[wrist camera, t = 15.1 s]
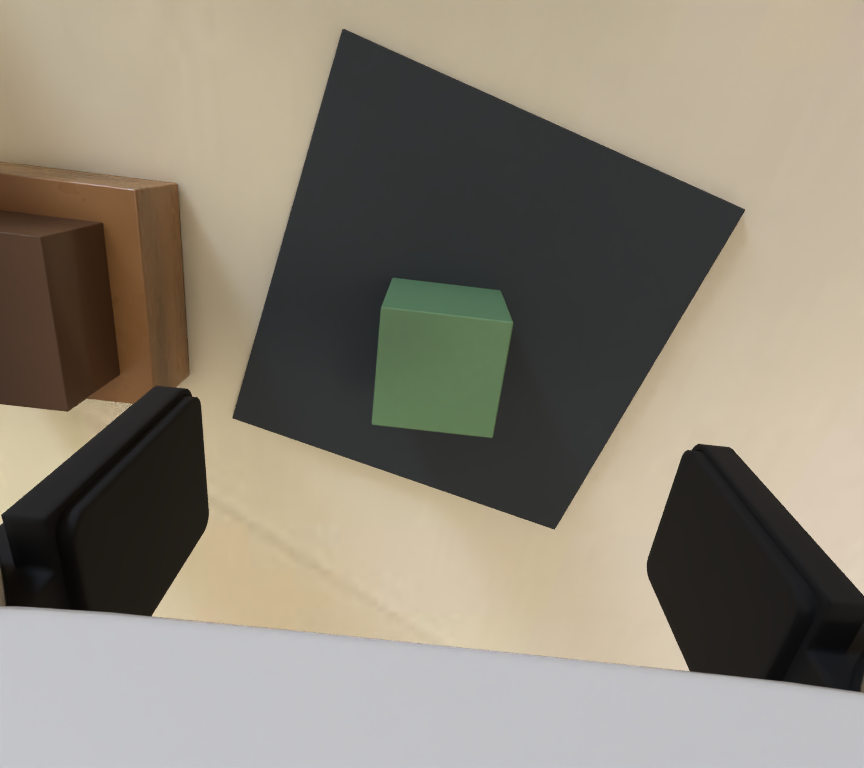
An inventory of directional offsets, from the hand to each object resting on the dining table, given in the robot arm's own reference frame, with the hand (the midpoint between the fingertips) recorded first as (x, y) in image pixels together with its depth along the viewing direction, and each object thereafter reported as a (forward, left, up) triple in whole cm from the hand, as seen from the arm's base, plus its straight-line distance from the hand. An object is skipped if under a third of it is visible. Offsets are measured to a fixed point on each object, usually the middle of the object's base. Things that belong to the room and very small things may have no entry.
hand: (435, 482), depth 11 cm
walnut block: (+17, +7, -15) cm, 23 cm away
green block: (-1, +3, -18) cm, 19 cm away
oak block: (+17, +7, -19) cm, 26 cm away
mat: (-2, +2, -19) cm, 19 cm away
